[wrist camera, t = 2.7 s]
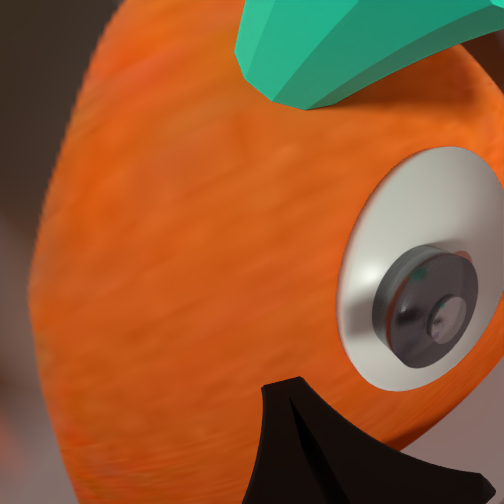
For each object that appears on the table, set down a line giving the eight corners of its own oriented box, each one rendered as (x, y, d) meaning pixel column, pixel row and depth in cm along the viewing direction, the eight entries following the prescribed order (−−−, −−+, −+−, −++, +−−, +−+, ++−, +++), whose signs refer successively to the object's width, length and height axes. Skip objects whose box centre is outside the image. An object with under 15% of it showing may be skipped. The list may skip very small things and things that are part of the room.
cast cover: (444, 326, 14) (473, 347, 11) (369, 360, 14) (396, 392, 11) (453, 235, 12) (491, 248, 10) (371, 257, 12) (410, 278, 9)
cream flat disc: (485, 335, 17) (493, 340, 16) (336, 411, 16) (342, 422, 15) (498, 150, 13) (510, 151, 12) (319, 152, 12) (329, 149, 10)
